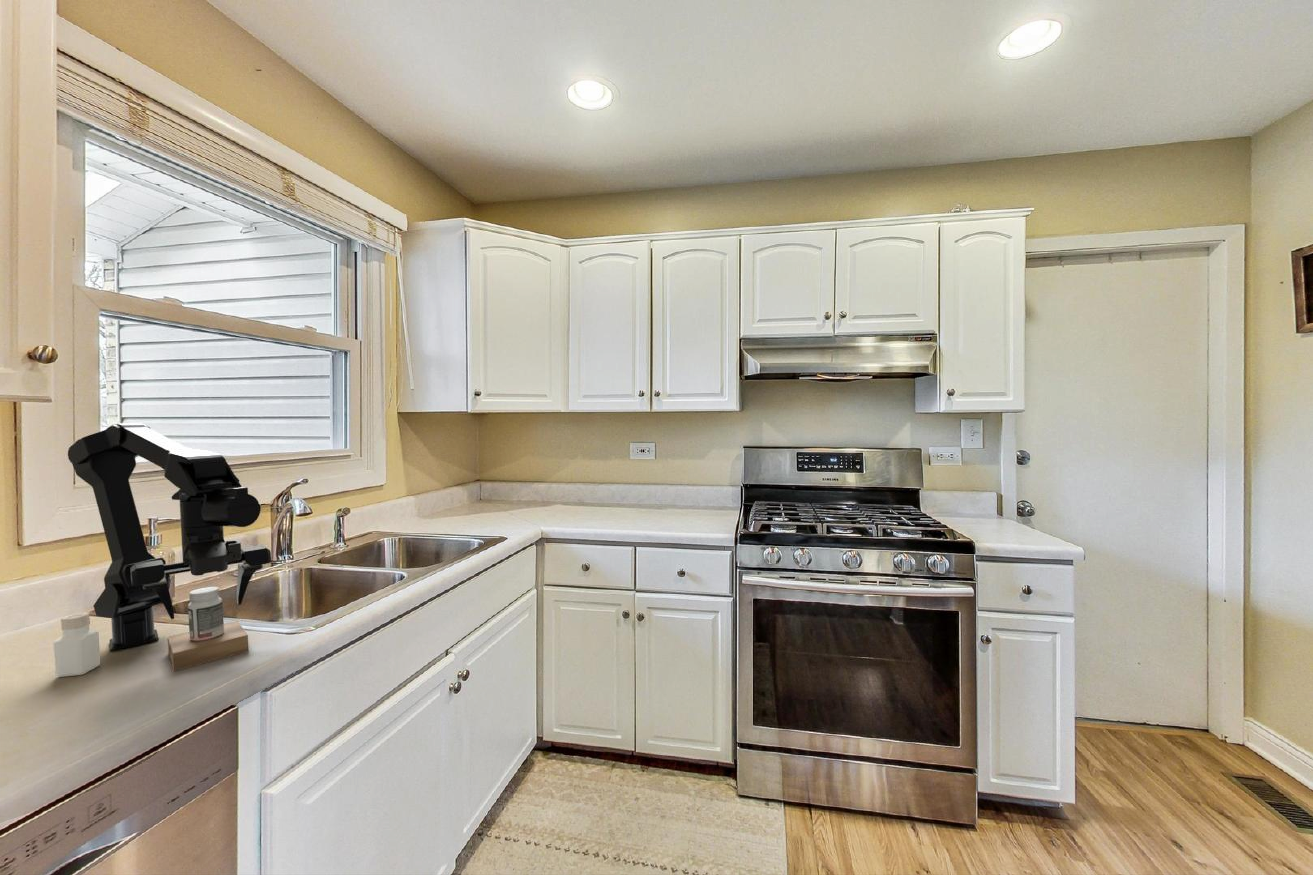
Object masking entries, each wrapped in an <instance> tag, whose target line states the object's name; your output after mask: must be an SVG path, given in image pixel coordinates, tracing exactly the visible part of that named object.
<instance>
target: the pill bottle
mask: <svg viewBox="0 0 1313 875" xmlns="http://www.w3.org/2000/svg"><path fill="white" fill-rule="evenodd" d="M189 600H190V602H189V603H188V604H187V613H188V614H187V615H188V628H189V629H188V630H189V633H190V639H191V640H193V641H202V640H208V639H211V638H214V637H217V636H219V635H221V634H223V632H224V624H225V622H224V611H223V610H224V607H223V599H222V597H220V590H219V587H218V586H207V587H201V588H196V589H193V590H192V591H190V592H189Z"/></svg>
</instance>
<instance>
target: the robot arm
mask: <svg viewBox="0 0 1313 875" xmlns="http://www.w3.org/2000/svg"><path fill="white" fill-rule="evenodd" d="M67 457H68V460H69V462H70V463H71V465H72V467H73V470H74V472H75V474H76V475H77V477H79V478H80V479H81V480H83V481H84V482H85V483H87V484H88V485H89V486H91V488H92V489H93V493H94V499H95V501H96V502H95V503H96V505H97V508H98V513H99V515H100V520H101V524H102V527H103V531H104V536H105V539H106V543H107V547H108V551H109V554H110V558H111V563H110V565H109V567H108V569H107V571H106V574H105V575H104V577H103V582H104V590H102V592H101V594H100V596H99V597H98V598H97V599H96V601H95V603H94V604H93V609H94V613H95V616H96V617H100V618H108V619H111V636H112V637H111V638H110V639H109V651H110V652H112V651H119V650H121V649H127V648H130V647H134V646H135V647H136V646H139V645H143V644H148V643H151V642H156V641H159V640H160V638H159V637H160V636H159V634H158V631H157V630H158V629H155V618H154V617H155V615H154V606H158V605H161V604H163V606H164V608H165V611H166V613H167V614H168V616H169V618H170V619H171V620H175V610H174V605H173V601H172V597H171V593H170V588H171V582H172V581H171V575H175V574H182V573H189V572H190V574H191V575H192V576H196V577H197V576H203V575H205V574H210V573H216V572H217V573H221V572H226V571H227V570H228V569H229V566H230V565H235V564H236V565H237V575H236V576H237V580H236V602H237V603H236V604H237V605H238V606H241V605H242V603H243V601H244V600H243V599H244V596H245V594H246V591H247V587H248V586H249V583H250V581H251V579H252V577H253V575H254V574H255V573H256V571H259V570H262V569H263V568H264V567H263V565H266V564H270V563H272V554H271V550H270V549H269V548H268V547H266V546H264V545H263V544H257V545H250V546H245V547H242V545H241V540H240V539H232V540H226V541H225V538H224V527H232V528H234V527H235V528H246V527H249V526H251V525H253V524H255V522H256V521H257V520H258V518H259V517H260V514H261V509H262V508H261V504H260V502H259V501H258V499H257V498H256V497H255V496H254V495H252V494H249V488H248V487H247V486H246V487H245V486H242V484H241V483H240V481H241V480H240V479H239V478H238V477H237V476H236V475H235V473H234V472H233V470H232V468H231V467H230V465H229V464H228V462H227V459H226V458H225V457H224V456H223V455H222V454H221V453H217V452H213V451H209V450H204V449H195V448H194V449H193V448H189V447H186V446H184V445H182V444H181V443H179V442H177V441H174V440H172V439H170V438H168V437H166V436H164V435H162V433H159V432H157V431H155V430H153V429H151V427H150V426H149V425H148V424H144V423H116V424H112V425H110V426H109V427H106V429H104V430H101V431H97V432H95V433H93V434H89V435H86V436H83V437H81V438H80V439H77V440H76V441H75V443H73V444H72V445H70V447H68V450H67ZM137 457H141V458H143V459H144V460H145V461H146V460H147V461H149V462H150V463H152V464H154V465H156V466H158V467H160V468H161V469H162V470H164V477H163V478H165V479H166V480H167V481H169V482H170V483H171V484H172V485H173V486H175V487H177V488H178V491H176V492H175V493H174V494H173V495H172V496H171V500H172V501H179V513H180V518H179V519H180V529H181V531H180V533H181V534H180V536H181V552H182V555H181V556H182V561H179V562H178V561H177V562H172V563H167V562H166V560H165V559H164V558H163V557H161V556H160V557H158V558H157V557H155V556H154V555H152V554H151V553H150V552H149V549H148V547H147V544H146V540H145V537H144V532H143V528H142V525H141V521H140V517H139V514H138V510H137V505H136V501H135V499H134V495H133V492H132V487H131V485H130V478H131V476H132V474H133V472H134V471H135V468H136V466H137V461H136V458H137Z"/></svg>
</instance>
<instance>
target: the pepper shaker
mask: <svg viewBox="0 0 1313 875" xmlns="http://www.w3.org/2000/svg"><path fill="white" fill-rule="evenodd" d="M90 620H91V618H90V613H89V612H77V613H72V614H68V615H65V616H62V617H61V618H60V622H61V623H60V625H61V631H62V636H59V637H58V638H57V639H55V641H53V653H54V667H55V668H54V669H55V676H56V677H57V678H62V677H63V678H64V677H73V676H74V677H75V676H81V675H85V674H87V673H88V672H90V671H92V670H94V669H96V668H97V667H99V666H100V664H101V651H100V648H101V647H100V634H99V631H97V630H92V629H90V624H91V621H90Z"/></svg>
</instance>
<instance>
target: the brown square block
mask: <svg viewBox="0 0 1313 875" xmlns="http://www.w3.org/2000/svg"><path fill="white" fill-rule="evenodd" d="M167 647H168V648H167V650H168V655H169V659H170V662H171V666H172V670H173V671H174V672H176V671H180V670H183V669H187V668H191V667H195V666H200V665H203V664H206V663H210V662H214V661H218V660H222V659H225V658H229V657H233V656H237V655H241V654H244V653H249V650H250V649H249V635H248V634H247V632H246V631H245V629H244V628H243V627H242V625H241V624H240V622H239V620H237V621H232V622H228V623H224V632H223V634H221V635H219V636H217V637H214V638H211V639H208V640H202V641H193V640H191V639H190V633H189V632H184V633H178V634H175V635H172V636H167Z"/></svg>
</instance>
